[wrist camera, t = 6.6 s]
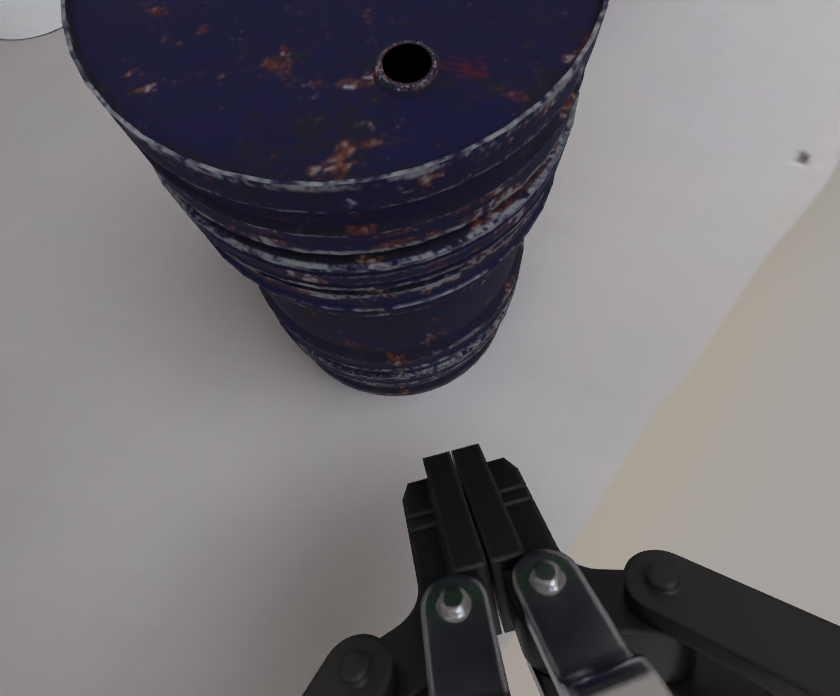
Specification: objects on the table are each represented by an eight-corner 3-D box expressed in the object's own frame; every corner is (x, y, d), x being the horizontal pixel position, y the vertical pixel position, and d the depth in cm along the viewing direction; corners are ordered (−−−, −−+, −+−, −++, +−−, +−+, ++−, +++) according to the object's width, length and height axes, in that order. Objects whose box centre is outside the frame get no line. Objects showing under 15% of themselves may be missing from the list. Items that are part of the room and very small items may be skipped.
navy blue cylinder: (256, 248, 24) (-5, -125, 10) (443, 164, 25) (450, -284, 11) (343, 440, 21) (157, 305, 7) (549, 336, 22) (744, 38, 8)
